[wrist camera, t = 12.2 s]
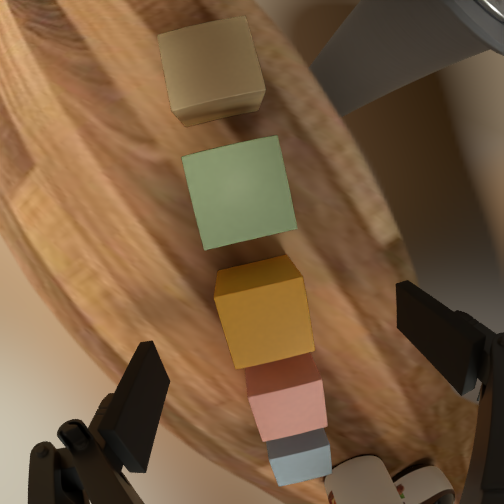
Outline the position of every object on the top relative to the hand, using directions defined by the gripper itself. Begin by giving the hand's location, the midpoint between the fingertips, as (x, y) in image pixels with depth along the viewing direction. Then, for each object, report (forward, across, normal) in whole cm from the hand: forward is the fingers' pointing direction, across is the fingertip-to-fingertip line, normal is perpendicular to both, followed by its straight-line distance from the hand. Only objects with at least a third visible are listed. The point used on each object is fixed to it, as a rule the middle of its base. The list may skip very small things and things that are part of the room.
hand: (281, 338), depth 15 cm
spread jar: (+7, +14, -38) cm, 41 cm away
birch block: (+7, 0, +15) cm, 16 cm away
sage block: (+7, 0, +7) cm, 10 cm away
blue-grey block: (+7, 0, -15) cm, 17 cm away
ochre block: (+7, -1, 0) cm, 7 cm away
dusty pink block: (+7, 0, -8) cm, 10 cm away
